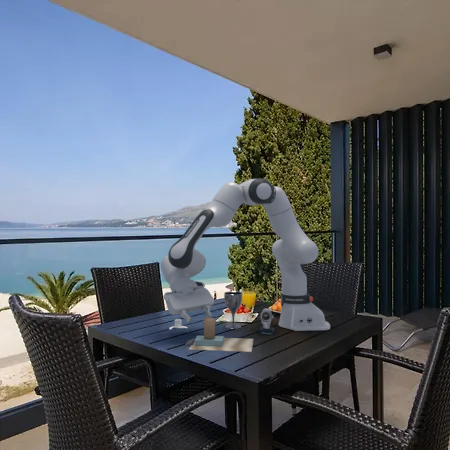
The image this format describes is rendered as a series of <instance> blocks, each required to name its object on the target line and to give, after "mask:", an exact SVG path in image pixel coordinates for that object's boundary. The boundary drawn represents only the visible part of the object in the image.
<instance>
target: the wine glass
mask: <svg viewBox="0 0 450 450" xmlns="http://www.w3.org/2000/svg"><path fill="white" fill-rule="evenodd" d="M223 294H224V304H225V307H226V308H227V309H228V310H229V312H230V313H231V318H232V323H231V324H227V325H225V328H226V329H229V330H233V329H234V330H238V329H241V328H242V325H239V324H236V323H235V315H236V313H237V311H238V310H239V308H240V307H241V306H242V301H243V292H242V291H236V290H235V291H233V290H232V291H231V290H230V291H225V292H224V293H223Z"/></svg>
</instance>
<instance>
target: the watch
mask: <svg viewBox="0 0 450 450" xmlns="http://www.w3.org/2000/svg"><path fill="white" fill-rule="evenodd" d="M259 319H260V320H261V321H260V322H261V324H262V326H260V327H259V334H261V335H262V334H263V335H274V333H275V327H272V326H271V322H272V320H273V319H274V315H273V314H272V310H271V308H263V310H262V311H261V312H260V315H259Z"/></svg>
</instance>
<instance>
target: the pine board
mask: <svg viewBox="0 0 450 450" xmlns="http://www.w3.org/2000/svg"><path fill="white" fill-rule="evenodd" d="M253 344H254V338H240V337H239V338H238V337H237V338H236V337H224V343H223V346H222V347H220V346H195V342H194V343H193V345H191V346H190V347H188V350H191V351H218V352H219V351H220V352H221V351H223V352H246V353H247V352H248V353H252V351H253Z"/></svg>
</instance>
